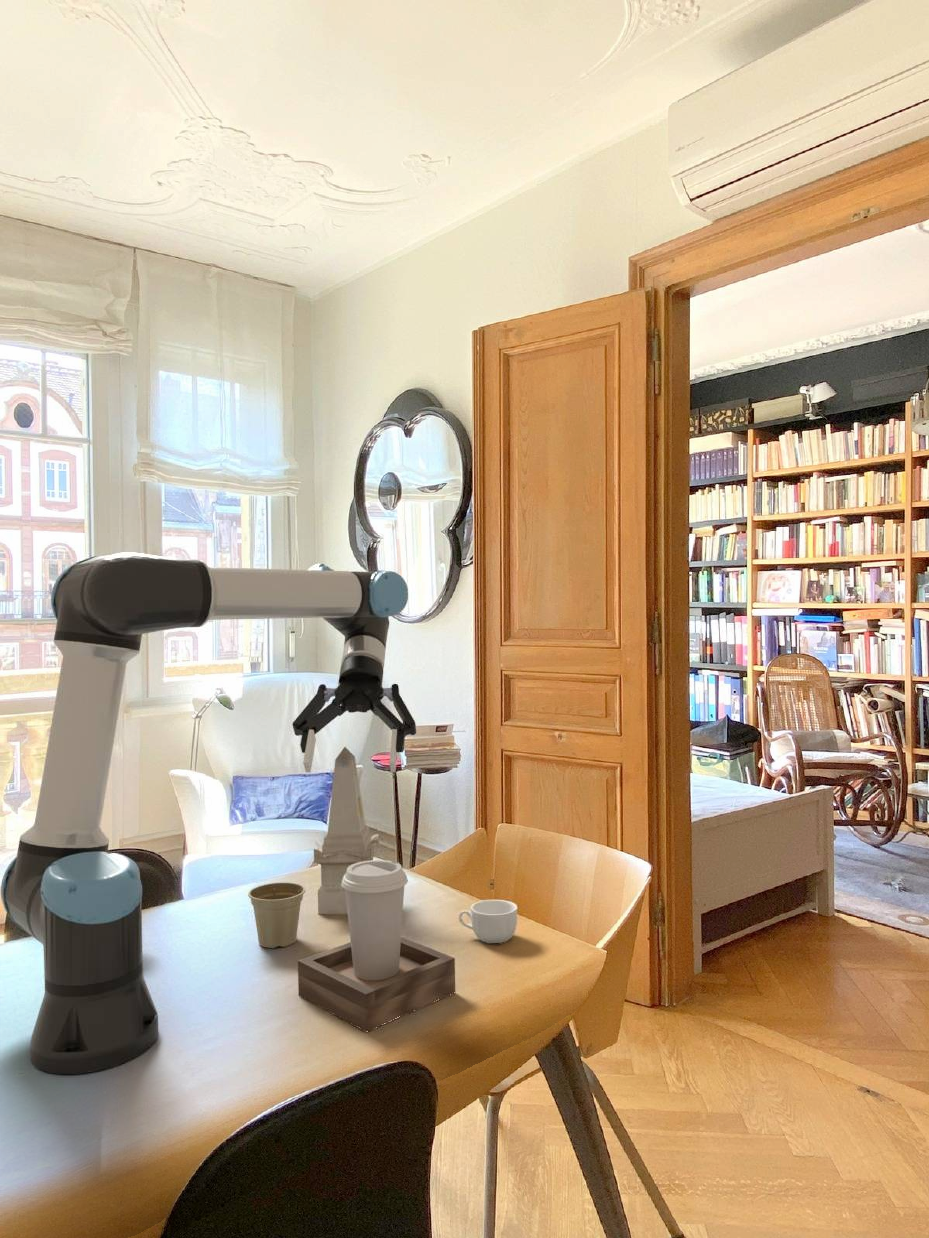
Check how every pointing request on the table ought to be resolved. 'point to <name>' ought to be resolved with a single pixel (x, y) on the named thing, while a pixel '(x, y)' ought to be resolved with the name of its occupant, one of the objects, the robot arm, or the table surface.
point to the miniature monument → (343, 836)
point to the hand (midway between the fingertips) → (349, 767)
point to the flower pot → (277, 912)
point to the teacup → (492, 920)
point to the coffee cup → (375, 917)
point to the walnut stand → (376, 984)
